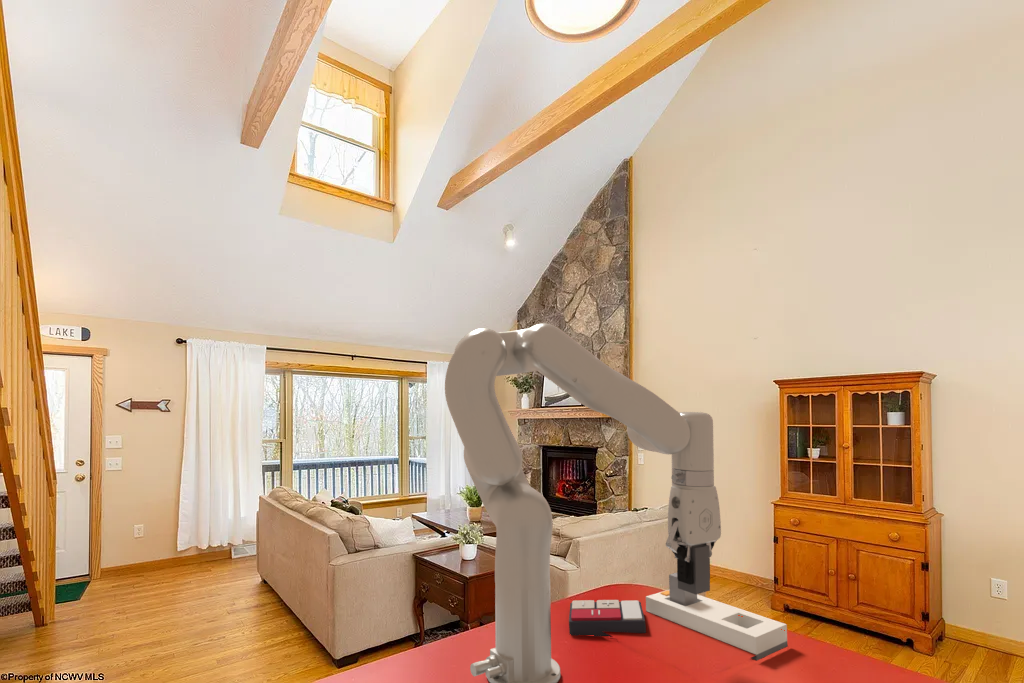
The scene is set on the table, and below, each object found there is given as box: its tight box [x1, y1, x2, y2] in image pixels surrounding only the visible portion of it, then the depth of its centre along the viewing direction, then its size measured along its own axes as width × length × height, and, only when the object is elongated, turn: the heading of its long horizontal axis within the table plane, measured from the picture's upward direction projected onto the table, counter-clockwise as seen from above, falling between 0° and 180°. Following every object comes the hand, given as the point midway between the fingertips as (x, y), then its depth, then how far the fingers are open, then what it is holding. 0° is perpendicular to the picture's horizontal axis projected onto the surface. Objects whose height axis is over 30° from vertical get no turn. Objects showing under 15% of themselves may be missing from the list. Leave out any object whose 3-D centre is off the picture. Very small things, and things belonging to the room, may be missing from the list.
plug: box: [678, 544, 711, 595], centre depth 108 cm, size 4×4×8 cm
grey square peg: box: [668, 572, 697, 606], centre depth 124 cm, size 4×4×8 cm
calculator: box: [568, 599, 647, 637], centre depth 121 cm, size 11×4×15 cm
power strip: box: [645, 589, 788, 661], centre depth 118 cm, size 10×26×4 cm, turn 35°
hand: (693, 579), depth 107 cm, fingers closed on plug, 4 cm apart
